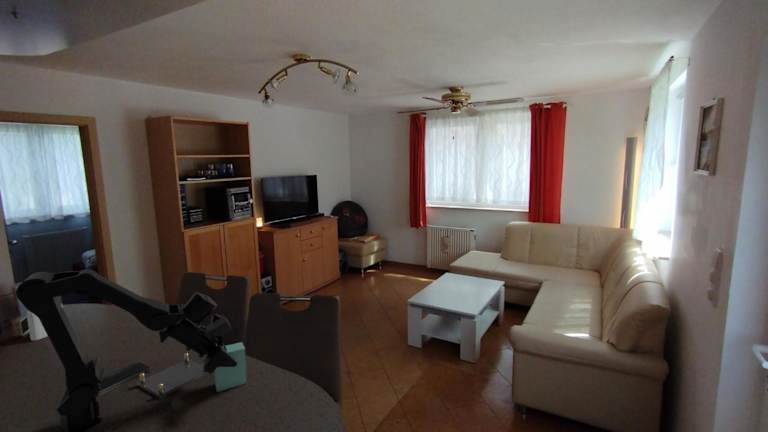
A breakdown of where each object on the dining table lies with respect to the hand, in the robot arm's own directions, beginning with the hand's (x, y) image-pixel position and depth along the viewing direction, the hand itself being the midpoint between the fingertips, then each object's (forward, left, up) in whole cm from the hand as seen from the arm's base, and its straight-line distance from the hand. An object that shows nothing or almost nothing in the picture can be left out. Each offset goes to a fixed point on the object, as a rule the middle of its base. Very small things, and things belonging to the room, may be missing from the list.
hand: (234, 361), depth 106 cm
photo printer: (-6, +86, -7) cm, 86 cm away
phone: (-13, +33, -7) cm, 36 cm away
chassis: (-6, +18, -7) cm, 20 cm away
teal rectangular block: (-1, +1, -7) cm, 7 cm away
